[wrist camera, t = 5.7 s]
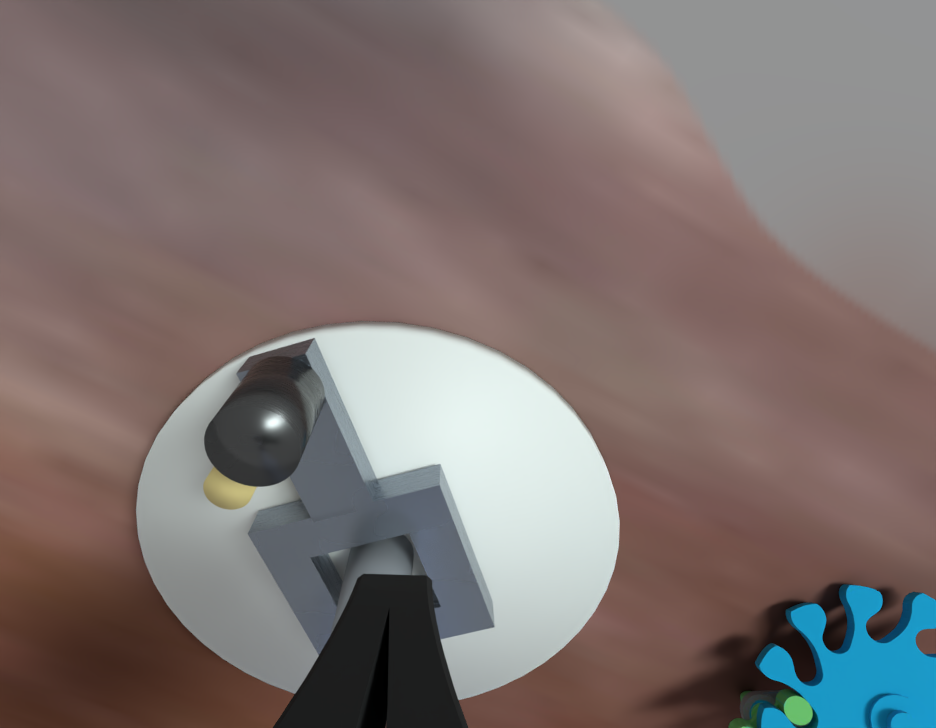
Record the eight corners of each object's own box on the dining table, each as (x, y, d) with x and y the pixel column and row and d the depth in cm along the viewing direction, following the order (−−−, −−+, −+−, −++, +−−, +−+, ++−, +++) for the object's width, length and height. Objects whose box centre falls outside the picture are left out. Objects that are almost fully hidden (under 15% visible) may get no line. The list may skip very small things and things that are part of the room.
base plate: (407, 738, 28) (397, 861, 24) (61, 544, 23) (-37, 656, 18) (706, 524, 23) (767, 629, 18) (349, 205, 17) (313, 243, 13)
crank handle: (492, 601, 23) (500, 703, 19) (331, 639, 23) (306, 744, 20) (382, 311, 18) (362, 371, 14) (179, 370, 18) (106, 443, 14)
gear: (1010, 576, 22) (1126, 900, 19) (932, 572, 28) (1011, 823, 24) (707, 594, 24) (765, 888, 21) (690, 587, 30) (734, 820, 27)
